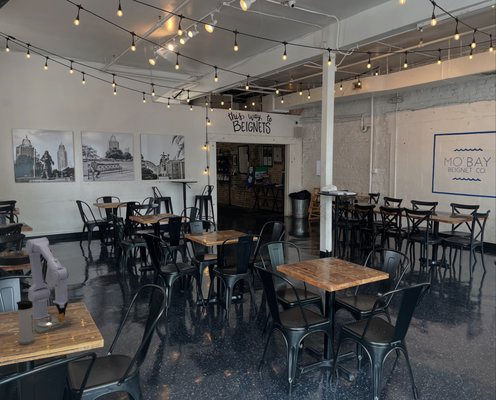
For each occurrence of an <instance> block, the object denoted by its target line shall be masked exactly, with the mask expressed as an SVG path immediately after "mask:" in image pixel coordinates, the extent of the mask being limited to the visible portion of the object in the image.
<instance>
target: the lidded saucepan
mask: <svg viewBox="0 0 496 400" xmlns="http://www.w3.org/2000/svg"><path fill="white" fill-rule="evenodd" d="M57 316H58V318H56V317H55V316H48V317H45V318H42V319H39V320H38V321H39V322H38V323H37V326H38V327H49V324H51V326H55V325H63V324H65V323H66V321H64V319H65V317H64V313H59V312H58V313H57ZM52 317H53V318H52Z"/></svg>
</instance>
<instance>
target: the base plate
mask: <svg viewBox="0 0 496 400" xmlns="http://www.w3.org/2000/svg"><path fill="white" fill-rule="evenodd" d="M51 317H52V318H53V317H56V318H58V315H55V316H51ZM39 321H40V320H38V321H37V320H36V321H34V333H36V334H38V335H42V334H45V333H49V332H53V331H56V330H59V329H62V328H65V327H68V326H69V327H70V326H72V322H71V321H69V320H67V319H65V318H64V321H66V323H65V324H63V325H55V326H51V324H49V327H38V326H37V323H38V322H39Z"/></svg>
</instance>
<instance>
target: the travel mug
mask: <svg viewBox="0 0 496 400" xmlns="http://www.w3.org/2000/svg"><path fill="white" fill-rule="evenodd" d="M16 305H17V321H18V337H19V338H18V340H19V344H20V345H22V346H23V345H25V346H26V345H30V344H33V343H34V342H35V341H36V338H35V331H34V322H35V321H34V320H35V319H33V303H32V301H30V300H19V301H17V302H16Z"/></svg>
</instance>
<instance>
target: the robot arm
mask: <svg viewBox="0 0 496 400" xmlns="http://www.w3.org/2000/svg"><path fill="white" fill-rule="evenodd" d="M25 249H26V250H25V251H26V255H29V263H30V269H31V270H30V271H31V277H32V285H31V286H29V288H28V290H27V291H28V293H27V296H28V301H32V303H33V319H34V320H36V321H37V320H42V319H46V318H47V317H52V316H51V314H49V313H48V300H49V298H50V297H51V290H50V287H49V285H48V284H47V283H45V282H44V278H43V270H42V269H43V268H42V263H41V256H43V258H44V259H45V260H46V262H47V263H46V266H47V268H48V269H49V270H50V272H51V278H52V281H53V284H54V297H55V300H53V301H52V303H53V304H55V307H56V308H57V311H58V314H59V313H64V318H65V316H66V310H67V308H68V305H69V303H68V302H69V299H68V283H67V282H68V280H67V279H69V276H70V273H69V270H68V268H66V267H65V266H62V264H61V262H60V261H59V259H58V258H57V257H54V255H53V253H52V252H51V249H50V241H49V239H48V238H47V237H45V236H44V237H41V238H33V239H28V240H27V241H26V243H25Z"/></svg>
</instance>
